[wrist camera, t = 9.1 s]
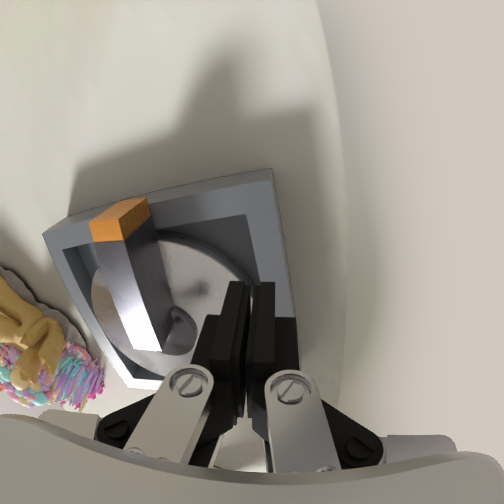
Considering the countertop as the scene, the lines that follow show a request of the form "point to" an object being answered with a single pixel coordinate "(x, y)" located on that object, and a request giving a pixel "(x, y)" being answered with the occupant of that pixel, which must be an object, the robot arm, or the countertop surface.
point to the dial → (155, 286)
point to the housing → (193, 224)
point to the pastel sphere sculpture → (41, 351)
